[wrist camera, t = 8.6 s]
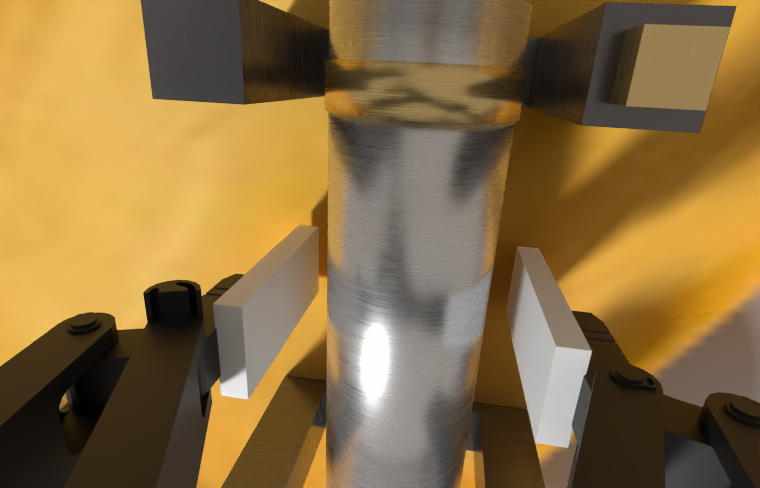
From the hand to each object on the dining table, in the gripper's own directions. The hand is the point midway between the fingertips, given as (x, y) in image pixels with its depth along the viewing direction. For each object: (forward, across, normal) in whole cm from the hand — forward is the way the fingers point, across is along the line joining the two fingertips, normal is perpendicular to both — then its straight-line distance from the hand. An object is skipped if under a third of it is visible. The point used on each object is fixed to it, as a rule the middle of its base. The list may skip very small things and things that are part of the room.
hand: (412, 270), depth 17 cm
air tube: (0, 0, 0) cm, 1 cm away
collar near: (+1, 0, +7) cm, 7 cm away
